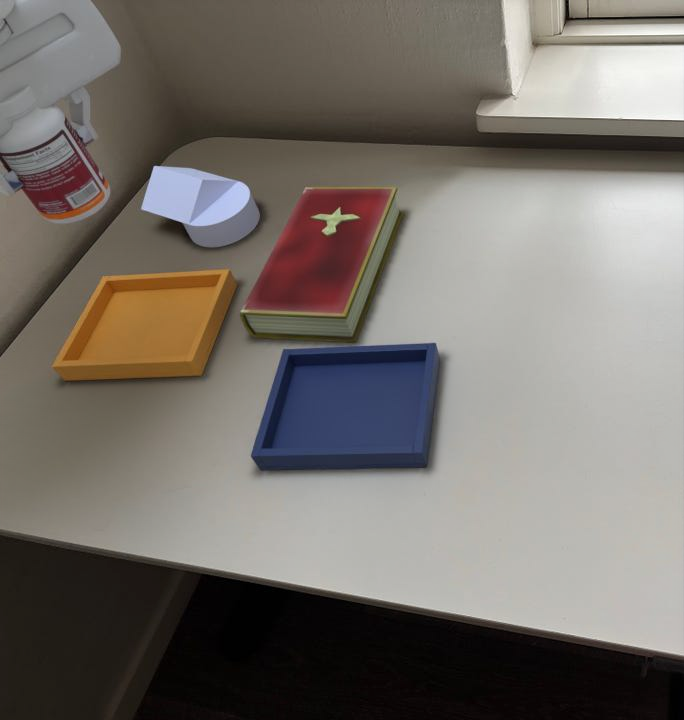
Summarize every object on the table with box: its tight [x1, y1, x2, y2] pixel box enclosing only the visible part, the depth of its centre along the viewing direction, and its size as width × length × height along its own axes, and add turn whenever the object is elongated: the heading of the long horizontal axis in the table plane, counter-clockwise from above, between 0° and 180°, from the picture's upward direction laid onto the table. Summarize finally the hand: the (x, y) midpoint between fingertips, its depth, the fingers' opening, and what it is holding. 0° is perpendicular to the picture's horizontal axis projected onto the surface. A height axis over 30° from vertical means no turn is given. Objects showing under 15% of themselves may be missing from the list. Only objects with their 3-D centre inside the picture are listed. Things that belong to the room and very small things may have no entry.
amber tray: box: [51, 268, 238, 382], centre depth 79 cm, size 16×14×2 cm
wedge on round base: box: [140, 165, 261, 248], centre depth 89 cm, size 9×7×13 cm
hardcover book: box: [239, 186, 405, 343], centre depth 81 cm, size 12×21×4 cm, turn 170°
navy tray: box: [250, 342, 441, 471], centre depth 68 cm, size 16×13×2 cm
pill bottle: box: [0, 86, 111, 225], centre depth 60 cm, size 6×6×11 cm
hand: (51, 165), depth 61 cm, fingers closed on pill bottle, 6 cm apart
